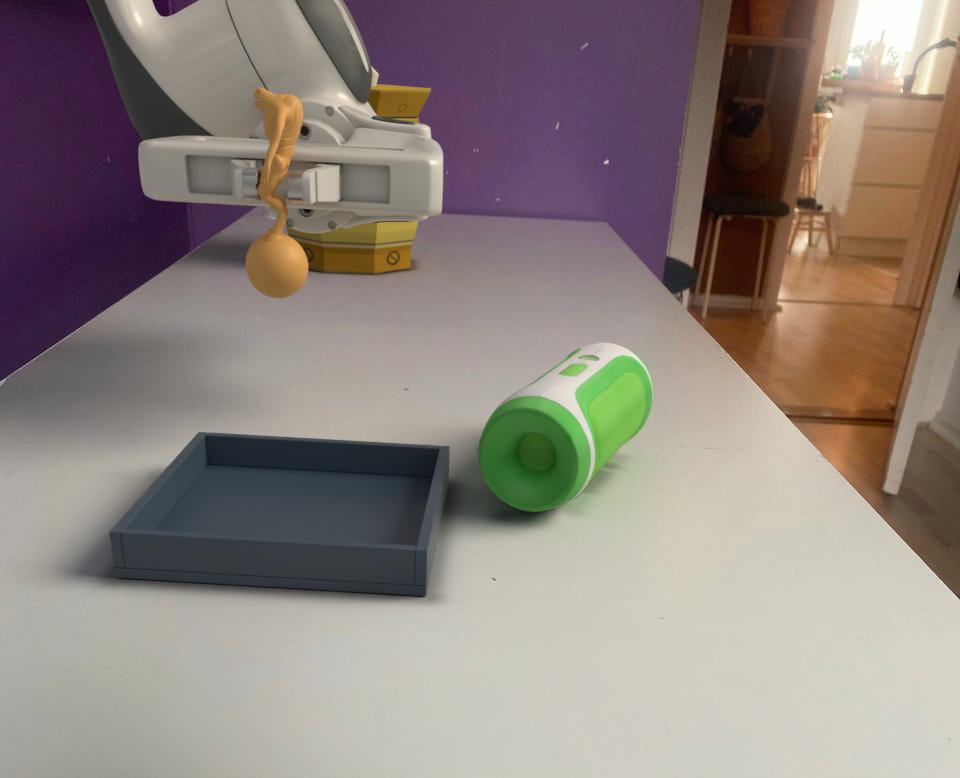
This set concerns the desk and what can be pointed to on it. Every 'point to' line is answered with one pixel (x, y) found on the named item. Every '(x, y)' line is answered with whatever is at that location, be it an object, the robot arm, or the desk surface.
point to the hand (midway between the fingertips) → (272, 187)
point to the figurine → (277, 201)
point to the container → (371, 242)
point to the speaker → (565, 427)
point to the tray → (289, 515)
